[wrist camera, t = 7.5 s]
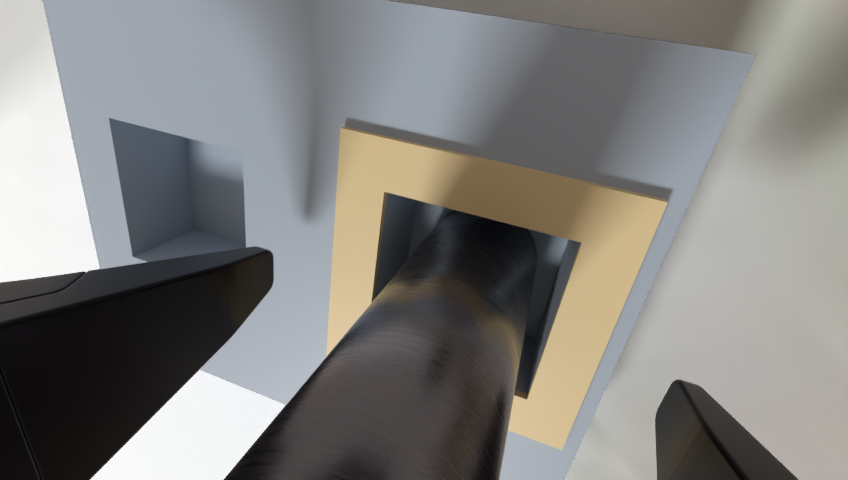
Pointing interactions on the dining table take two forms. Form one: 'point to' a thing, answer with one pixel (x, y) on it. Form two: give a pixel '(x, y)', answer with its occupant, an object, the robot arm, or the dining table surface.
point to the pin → (416, 370)
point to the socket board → (393, 168)
